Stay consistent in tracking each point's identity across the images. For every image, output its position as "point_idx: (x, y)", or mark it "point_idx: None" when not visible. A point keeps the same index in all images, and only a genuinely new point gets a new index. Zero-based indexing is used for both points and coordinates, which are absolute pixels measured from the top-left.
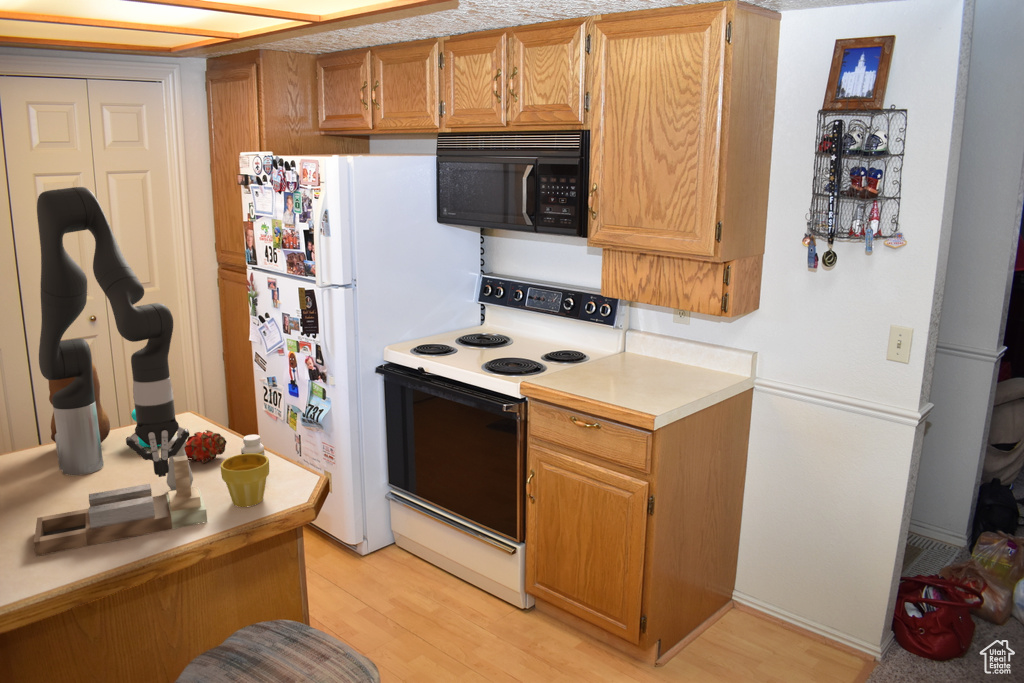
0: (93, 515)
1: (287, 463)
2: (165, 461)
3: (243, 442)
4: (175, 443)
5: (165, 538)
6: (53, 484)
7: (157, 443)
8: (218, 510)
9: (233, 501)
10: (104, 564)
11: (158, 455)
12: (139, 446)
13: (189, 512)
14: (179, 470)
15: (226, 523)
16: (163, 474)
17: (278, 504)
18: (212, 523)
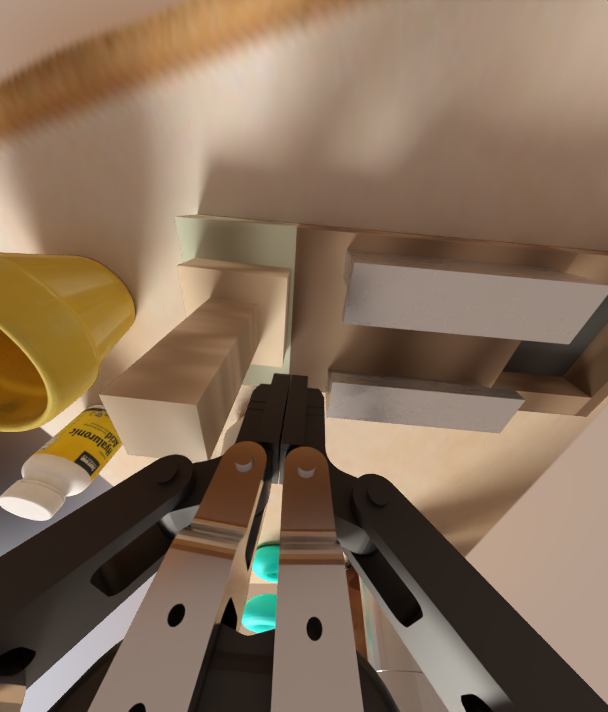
0: (584, 280)
1: (51, 431)
2: (252, 437)
3: (60, 499)
4: (126, 575)
5: (332, 153)
6: (435, 518)
7: (260, 664)
8: (170, 282)
9: (119, 291)
10: (600, 8)
11: (285, 489)
12: (457, 663)
13: (232, 221)
14: (195, 359)
15: (133, 161)
16: (284, 378)
17: None
18: (180, 192)
